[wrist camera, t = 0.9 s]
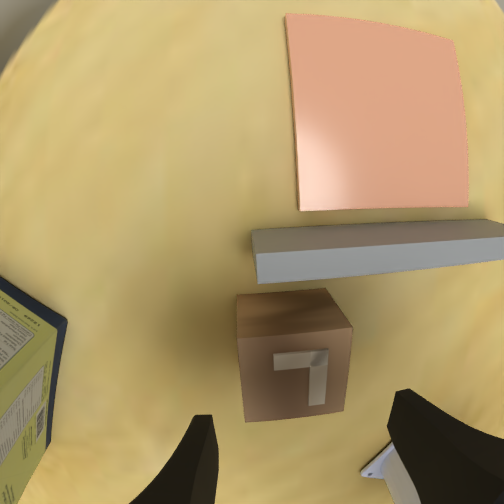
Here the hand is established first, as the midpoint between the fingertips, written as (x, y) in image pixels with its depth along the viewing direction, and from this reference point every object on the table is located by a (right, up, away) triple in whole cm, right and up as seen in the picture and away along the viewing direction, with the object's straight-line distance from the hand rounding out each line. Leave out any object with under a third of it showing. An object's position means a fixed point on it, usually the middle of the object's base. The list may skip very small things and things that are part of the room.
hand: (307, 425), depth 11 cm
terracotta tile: (+5, +15, +5) cm, 16 cm away
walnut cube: (0, +2, +8) cm, 8 cm away
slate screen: (+6, +8, +6) cm, 12 cm away
